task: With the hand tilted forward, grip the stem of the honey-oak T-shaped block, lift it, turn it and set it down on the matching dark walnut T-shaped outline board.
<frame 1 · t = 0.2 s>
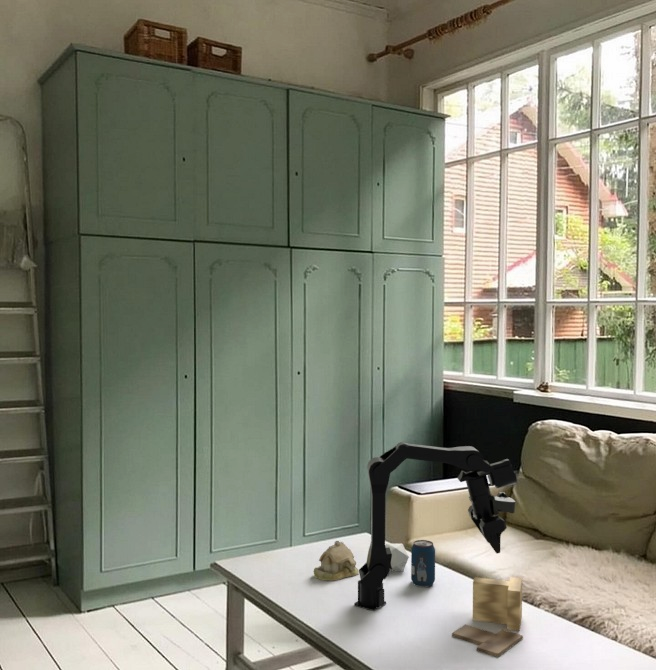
hand: (494, 547, 209), 16 cm above the table, tool tilted 15°, fingers open, 9 cm apart
walnut T outline: (486, 640, 187), on the table
soda can: (422, 584, 225), on the table
oak T block: (500, 620, 199), on the table
ceramic model: (336, 574, 233), on the table
white polyhedron: (394, 570, 237), on the table
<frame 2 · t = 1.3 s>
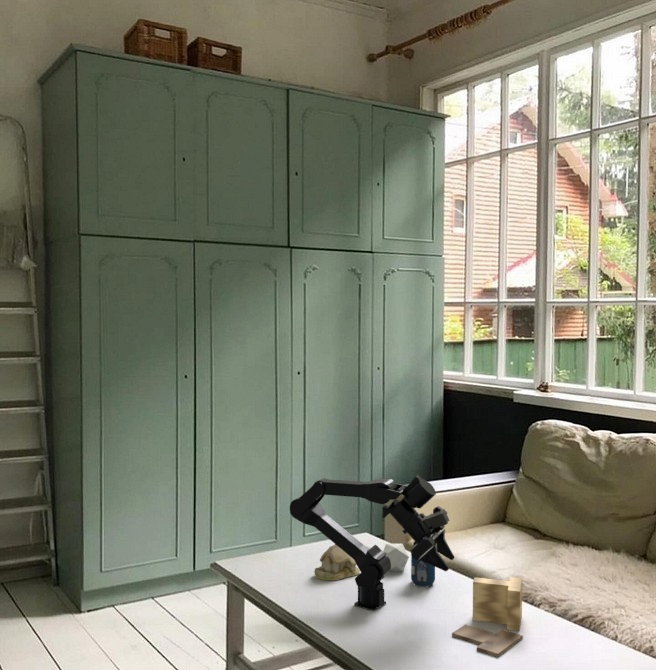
hand: (450, 564, 201), 14 cm above the table, tool tilted 45°, fingers open, 9 cm apart
nothing on the table moved.
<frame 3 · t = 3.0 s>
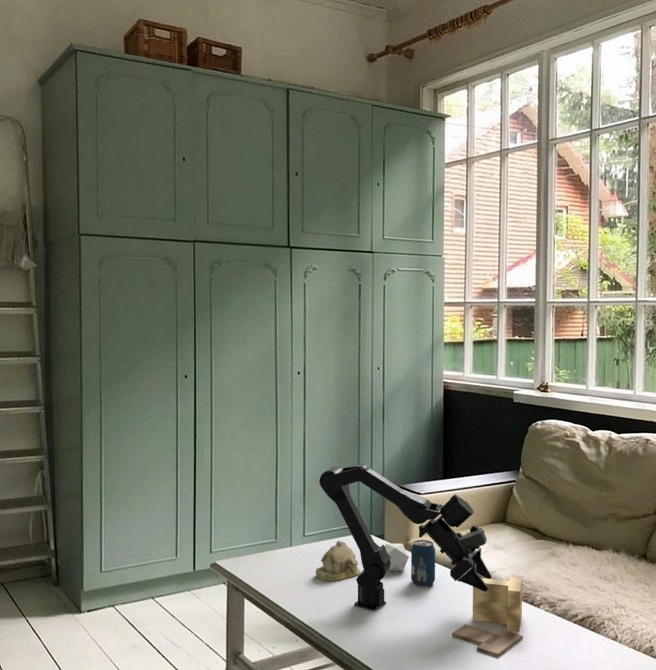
hand: (488, 584, 199), 9 cm above the table, tool tilted 45°, fingers open, 9 cm apart
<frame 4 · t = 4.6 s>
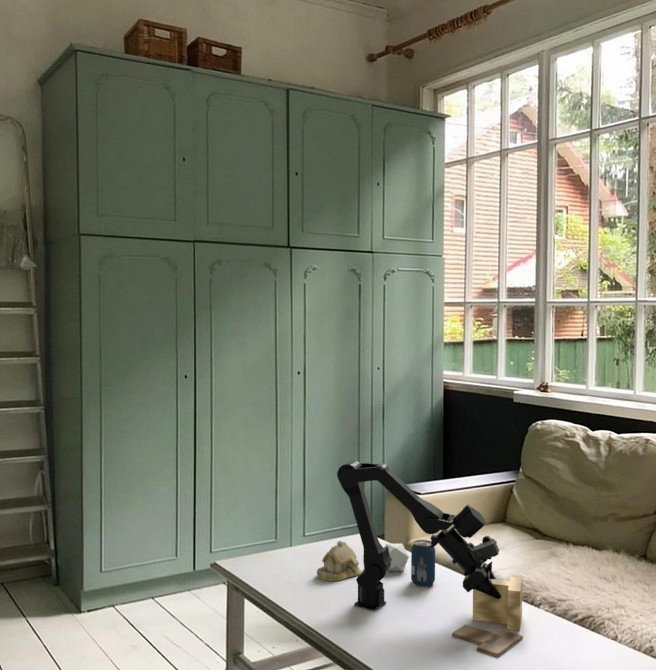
hand: (500, 595, 199), 7 cm above the table, tool tilted 45°, fingers closed on oak T block, 4 cm apart
oak T block: (500, 620, 199), on the table, touching gripper
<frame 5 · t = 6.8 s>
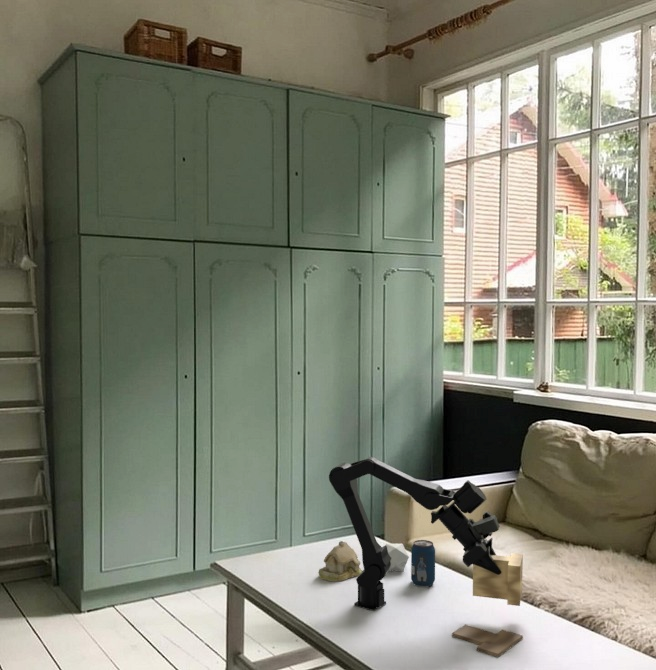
hand: (500, 571, 198), 13 cm above the table, tool tilted 45°, fingers closed on oak T block, 4 cm apart
oak T block: (500, 596, 198), point 6 cm above the table, touching gripper
when the fingers open (9 cm above the table, at t = 9.2 s): oak T block drops 1 cm, resting on walnut T outline.
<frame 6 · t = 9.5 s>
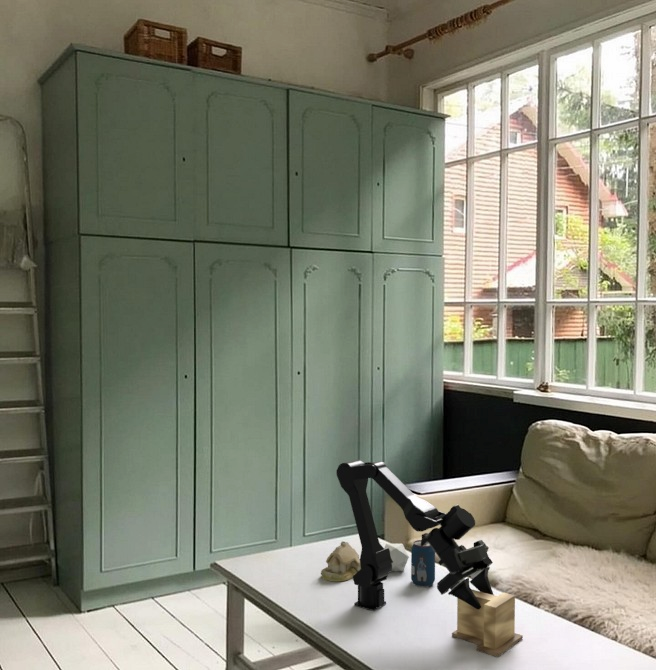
hand: (486, 604, 187), 9 cm above the table, tool tilted 45°, fingers open, 7 cm apart
oak T block: (486, 636, 187), point 1 cm above the table, touching walnut T outline
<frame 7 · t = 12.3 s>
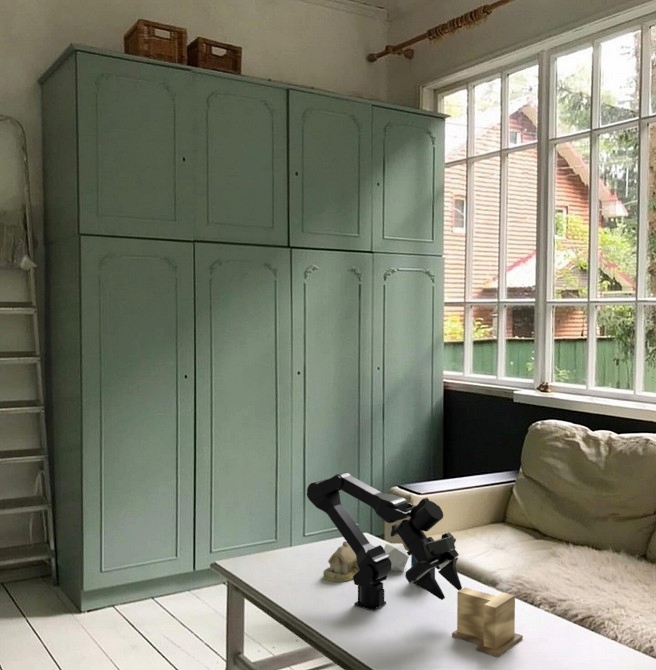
hand: (452, 594, 193), 9 cm above the table, tool tilted 45°, fingers open, 9 cm apart
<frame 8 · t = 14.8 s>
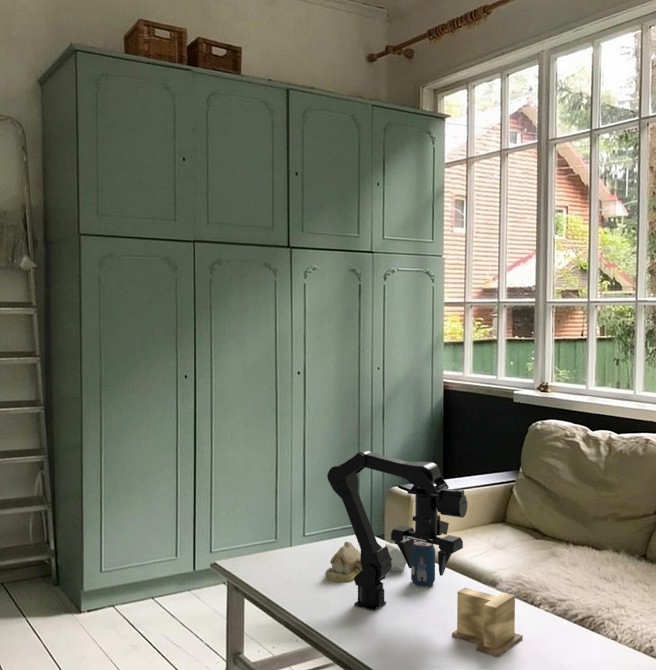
hand: (425, 571, 200), 12 cm above the table, tool pointing down, fingers open, 9 cm apart
at the end: oak T block 0.2 cm off-centre on the walnut T outline, point 0.8 cm above the walnut T outline's base; oak T block tilted 0°; the gripper is holding nothing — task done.
